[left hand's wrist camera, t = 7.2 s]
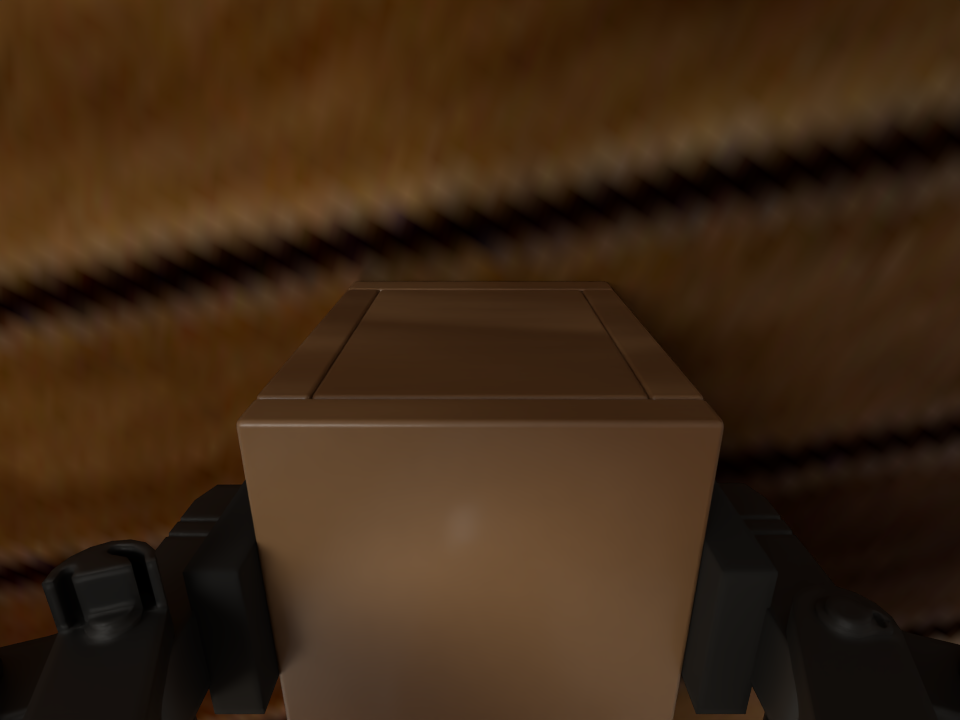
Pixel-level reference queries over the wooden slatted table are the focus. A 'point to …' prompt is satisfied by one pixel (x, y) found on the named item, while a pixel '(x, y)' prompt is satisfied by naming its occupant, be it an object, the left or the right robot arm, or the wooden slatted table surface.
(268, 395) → the cabinet
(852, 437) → the wooden slatted table surface
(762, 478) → the wooden slatted table surface
